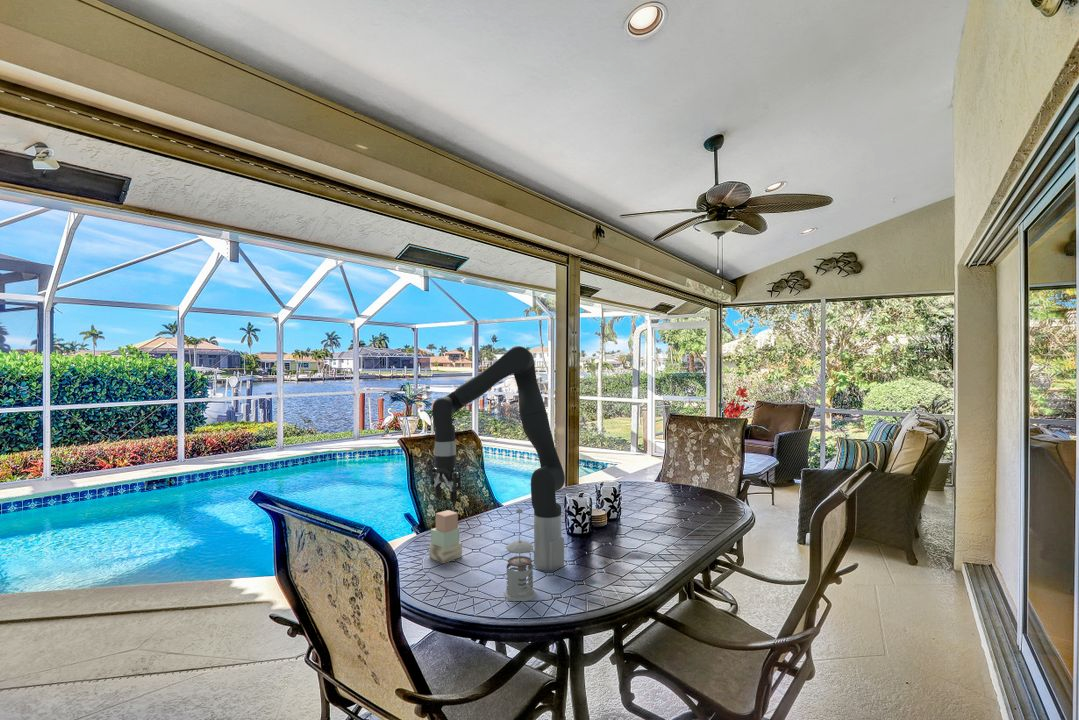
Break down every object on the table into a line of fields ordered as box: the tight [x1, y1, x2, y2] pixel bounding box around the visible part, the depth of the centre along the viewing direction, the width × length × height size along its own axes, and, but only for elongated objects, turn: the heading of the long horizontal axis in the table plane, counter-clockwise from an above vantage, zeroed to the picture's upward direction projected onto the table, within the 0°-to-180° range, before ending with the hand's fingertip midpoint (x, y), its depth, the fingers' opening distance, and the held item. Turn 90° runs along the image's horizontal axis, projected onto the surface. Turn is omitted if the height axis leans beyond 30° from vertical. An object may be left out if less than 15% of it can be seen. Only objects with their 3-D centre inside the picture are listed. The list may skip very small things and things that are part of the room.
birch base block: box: [429, 541, 463, 564], centre depth 172 cm, size 8×8×5 cm
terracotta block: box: [435, 509, 459, 532], centre depth 172 cm, size 6×6×6 cm
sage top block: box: [430, 527, 460, 548], centre depth 172 cm, size 7×7×5 cm
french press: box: [503, 508, 537, 602], centre depth 145 cm, size 10×12×25 cm
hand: (445, 499), depth 172 cm, fingers open, 8 cm apart
